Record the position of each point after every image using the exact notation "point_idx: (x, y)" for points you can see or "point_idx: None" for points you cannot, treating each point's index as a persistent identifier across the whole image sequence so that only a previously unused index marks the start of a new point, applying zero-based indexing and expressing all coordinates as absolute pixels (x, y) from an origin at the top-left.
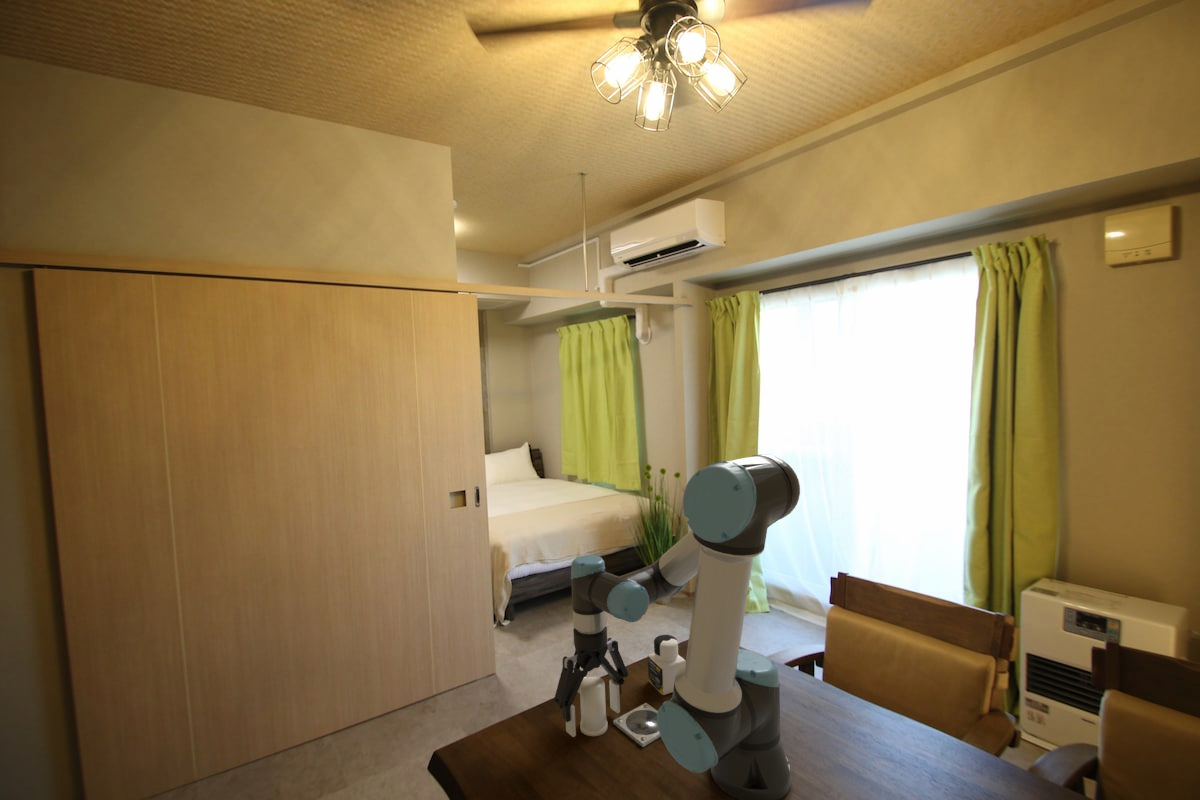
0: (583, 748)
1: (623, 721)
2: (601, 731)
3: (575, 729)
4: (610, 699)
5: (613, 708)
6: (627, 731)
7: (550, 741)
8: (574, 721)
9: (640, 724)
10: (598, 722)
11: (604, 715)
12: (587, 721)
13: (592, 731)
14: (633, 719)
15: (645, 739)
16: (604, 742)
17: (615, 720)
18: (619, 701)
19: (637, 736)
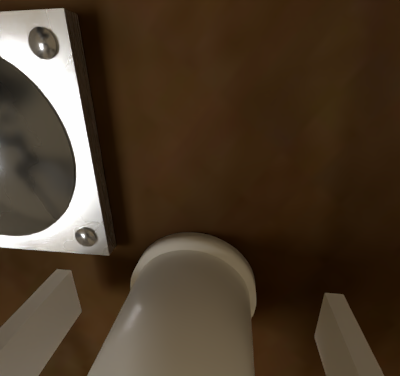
0: (324, 221)
1: (72, 221)
2: (194, 240)
3: (336, 321)
4: (54, 347)
5: (71, 300)
6: (90, 155)
7: (389, 335)
8: (364, 374)
9: (7, 150)
10: (199, 280)
11: (146, 293)
12: (246, 320)
13: (234, 264)
14: (24, 200)
15: (32, 31)
16: (220, 186)
17: (101, 249)
18: (16, 312)
19: (62, 86)
